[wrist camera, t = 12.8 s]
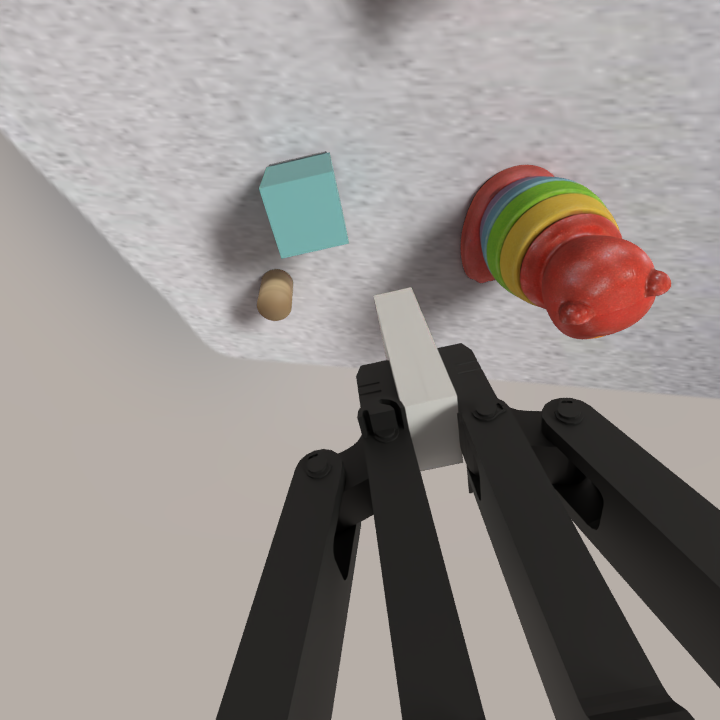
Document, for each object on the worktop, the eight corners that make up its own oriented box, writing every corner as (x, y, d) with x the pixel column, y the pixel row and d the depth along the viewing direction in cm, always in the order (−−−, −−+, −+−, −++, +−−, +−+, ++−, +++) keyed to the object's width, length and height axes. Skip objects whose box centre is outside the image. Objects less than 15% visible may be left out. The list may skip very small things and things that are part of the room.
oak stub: (257, 273, 42) (252, 294, 38) (288, 266, 42) (285, 287, 38) (267, 300, 44) (263, 323, 40) (296, 294, 43) (295, 316, 40)
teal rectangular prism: (266, 167, 36) (258, 188, 30) (329, 152, 35) (332, 171, 30) (285, 229, 39) (281, 258, 33) (343, 216, 38) (348, 243, 33)
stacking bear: (465, 284, 45) (540, 398, 30) (447, 184, 39) (529, 266, 24) (572, 251, 44) (703, 352, 29) (570, 143, 38) (733, 203, 23)
